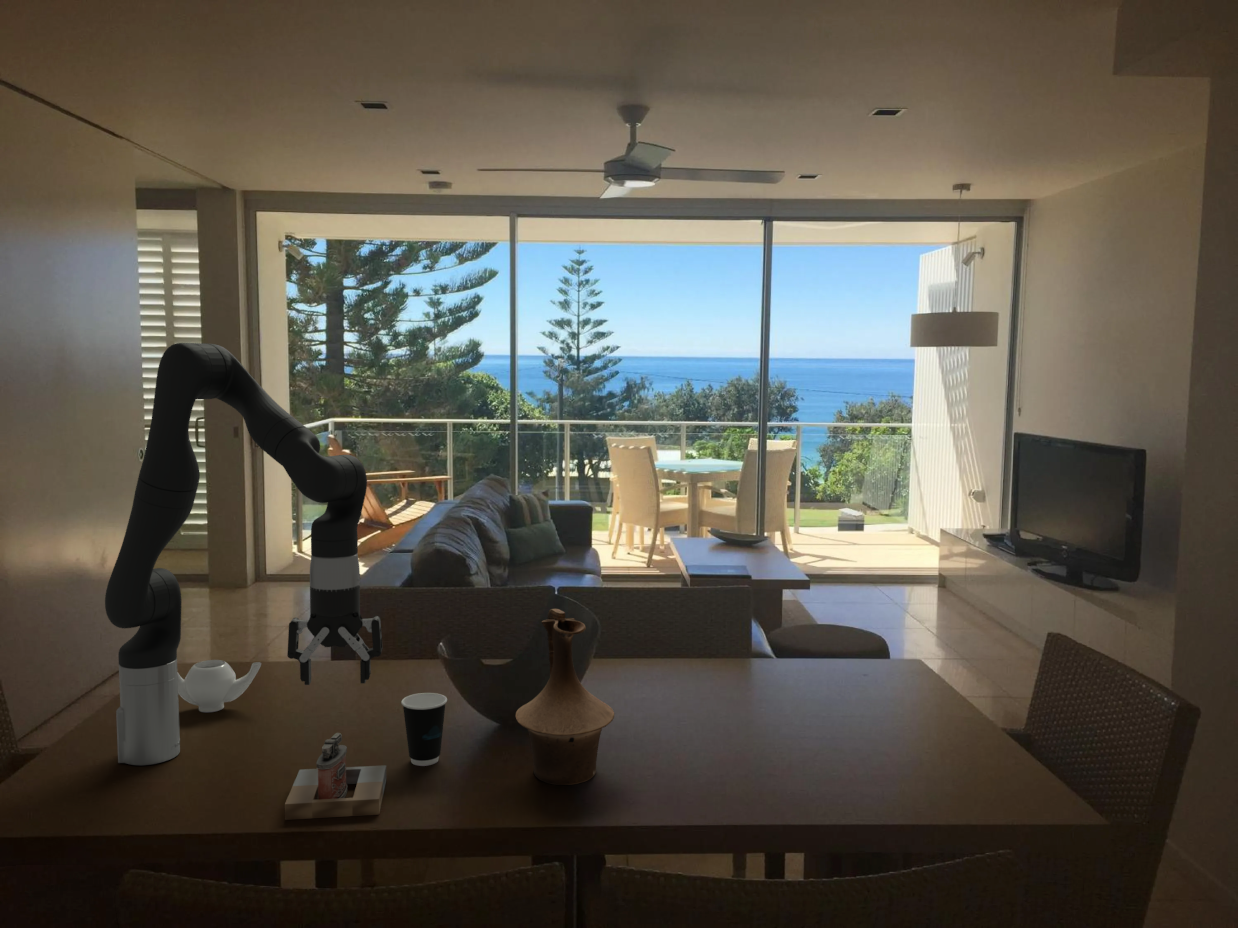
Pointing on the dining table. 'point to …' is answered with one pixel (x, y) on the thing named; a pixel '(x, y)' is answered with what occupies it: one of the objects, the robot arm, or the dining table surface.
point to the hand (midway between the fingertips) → (336, 682)
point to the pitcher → (564, 713)
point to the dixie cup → (424, 726)
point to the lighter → (332, 769)
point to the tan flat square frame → (363, 802)
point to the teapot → (213, 684)
